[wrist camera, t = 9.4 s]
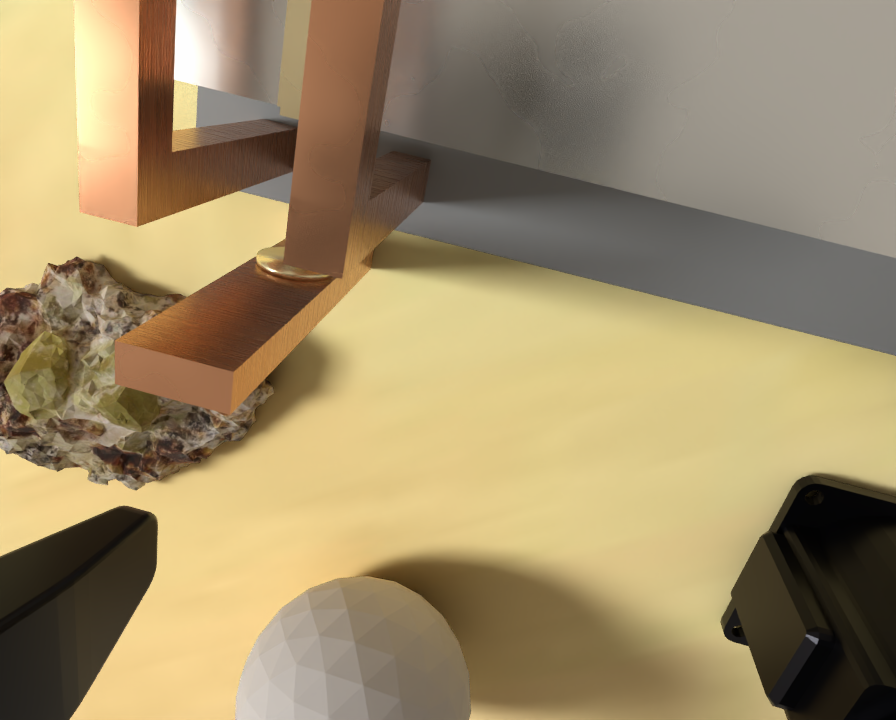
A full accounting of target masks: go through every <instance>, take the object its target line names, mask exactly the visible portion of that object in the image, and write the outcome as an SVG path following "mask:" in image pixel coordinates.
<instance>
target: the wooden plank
mask: <svg viewBox="0 0 896 720" xmlns="http://www.w3.org/2000/svg"><path fill="white" fill-rule="evenodd" d="M285 241H286V239H284V240H283V241H281V242H279V243H278V244H276V245H274V246H273V247H270V248H265V249H262V250H260V251H259V252H258V253H257V256H256V257H254V258H252V259H251V260H249V261H247V262H246V263H244V264H242V265H241V266H239V267H237V268H236V269H234V270H232V271H231V272H229V273H227V274H226V275H224V276H222V277H221V278H219V279H217V280H216V281H214V282H212V283H210V284H209V285H207V286H205V287H204V288H202V289H200V290H199V291H197V292H195V293H194V294H192V295H190V296H189V297H187V298H185V299H184V300H182V301H180V302H179V303H177V304H175V305H174V306H172V307H170V308H168V309H167V310H165V311H163V312H162V313H160V314H158V315H157V316H155V317H153V318H152V319H150V320H148V321H147V322H145V323H143V324H142V325H140V326H138V327H137V328H135V329H133V330H132V331H130V332H128V333H126V334H125V335H123V336H121V337H120V338H118V339H116V340H115V384H117V385H120V386H124V387H128V388H131V389H135V390H139V391H143V392H146V393H150V394H154V395H158V396H161V397H165V398H169V399H173V400H176V401H180V402H184V403H187V404H191V405H195V406H199V407H202V408H206V409H210V410H214V411H217V412H221V413H225V414H229V415H231V414H232V413H233V412H234V410H235V409H236V408H237V407H238V406H239V405H240V404H241V403H242V402H243V401H244V400H245V399H246V398H247V397H248V396H249V395H250V394H251V393H252V392H253V391H254V390H255V389H256V388H257V387H258V386H259V384H260V383H261V382H262V381H263V380H264V379H265V378H266V377H267V376H268V375H269V374H270V373H271V372H272V371H273V370H274V369H275V368H276V367H277V366H278V365H279V364H280V363H281V362H282V361H283V359H284V358H285V357H286V356H287V355H288V354H289V353H290V352H291V351H292V350H293V349H294V348H295V347H296V346H297V345H298V344H299V343H300V342H301V341H302V340H303V339H304V338H305V337H306V336H307V335H308V333H309V332H310V331H311V330H312V329H313V328H314V327H315V326H316V325H317V324H318V323H319V322H320V321H321V320H322V319H323V318H324V317H325V316H326V315H327V314H328V313H329V312H330V311H331V310H332V309H333V307H334V306H335V305H336V304H337V303H338V302H339V301H340V300H341V299H342V298H343V297H344V296H345V295H346V294H347V293H348V292H349V291H350V290H351V289H352V288H353V287H354V286H355V285H356V284H357V282H358V281H359V280H360V279H361V278H362V277H363V276H364V275H365V274H366V273H367V272H368V271H369V270H370V269H371V263H372V257H373V251H374V249H373V250H372V251H371V252H370V253H369V254H368V255H367V256H366V257H365V258H364V259H363V260H362V261H361V262H360V263H359V264H358V265H357V266H356V267H354V268H353V269H352V270H351V271H350V272H349V273H348V274H347V275H346V276H345V277H344V278H343V279H340V278H336V277H332V276H328V275H324V274H320V273H316V272H312V271H309V270H305V269H301V268H297V267H293V266H289V265H285V264H283V259H284V250H285Z"/></svg>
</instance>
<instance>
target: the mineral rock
mask: <svg viewBox="0 0 896 720" xmlns="http://www.w3.org/2000/svg"><path fill="white" fill-rule="evenodd" d="M185 298H187V297H185V296H183V295H181V294H173V295H166V296H165V297H159V296H154V295H150V294H141V293H137V292H134V291H132V290H131V289H130V288H128V287H126V286H124V285H123V284H122V283H117V282H116V281H115V280H114V279H113V278H112V277H111V276H110V274H109V273H108V272H107V270H106V268H105V266H104V265H101V264H96V263H92V262H87V261H84V260H82V259H80V258H79V257H75V258H74V259H72V260H68V261H67V262H66V263H65V264H63V265H58V266H56V265H53V264H50V263H48V265H47V267H46V269H45V271H44V274H43V277H42V281H41V283H40V284H39V285H37V284H35V283H31V284H29V285H26V286H25V288H17V289H13V288H6V289H5V290H3V291H2V292H1V293H0V448H1V449H3V450H4V451H5V452H6V454H11V453H14V454H17V455H19V456H20V457H22V458H24V459H26V460H28V461H30V462H32V463H35V464H36V465H37V466H43V467H46V468H49V469H52V470H56V471H57V472H58V471H60V470H62V469H64V468H72V467H81V468H83V469H86V470H88V472H89V475H88V480H89V481H91V482H94V483H97V484H104V485H108V481H110V480H113V479H117V480H118V481H121V482H122V483H123V484H124V485H125V486H127V487H128V488H131V489H133V490H138V489H139V488H141V487H142V486H144V485H145V483H149V482H152V481H155V480H161V479H163V478H164V477H165V476H167V475H168V474H171V473H176V472H178V471H179V468H180V467H182V466H188V465H189V463H200V461H201V459H202V458H205V459H206V458H207V457H209V456H210V455H211V454H212V452H213V450H214V449H215V448H216V447H217V446H219V445H220V444H222V443H223V442H225V441H240V440H241V439H242V438H243V437H244V435H245V434H246V433H247V432H248V430H249V428H250V427H251V426H252V424H253V423H254V422H256V419H255V415H254V413H255V409H256V408H257V407H258V406H260V405H261V404H264V403H265V401H266V399H267V398H268V397H269V396H270V395H272V394H274V393H275V392H274V390H273V387H272V386H271V384H270V382H269V381H268V380H266V379H264V380H263V381H262V382H261V383H260V384H259V386H258V387H257V388H256V389H255V390H254V391H253V392H252V393H251V394H250V395H249V396H248V397H247V398H246V399H245V400H244V401H243V402H242V403H241V404H240V405H239V406H238V407H237V408H236V409H235V410H234V412H233V413H232V414H231V415H229V414H225V413H221V412H217V411H214V410H210V409H206V408H202V407H199V406H195V405H191V404H187V403H184V402H180V401H176V400H173V399H169V398H165V397H161V396H158V395H154V394H150V393H146V392H143V391H139V390H135V389H131V388H128V387H124V386H120V385H117V384H115V340H116V339H118V338H120V337H121V336H123V335H125V334H126V333H128V332H130V331H132V330H133V329H135V328H137V327H138V326H140V325H142V324H143V323H145V322H147V321H148V320H150V319H152V318H153V317H155V316H157V315H158V314H160V313H162V312H163V311H165V310H167V309H168V308H170V307H172V306H174V305H175V304H177V303H179V302H180V301H182V300H184V299H185Z"/></svg>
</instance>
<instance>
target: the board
mask: <svg viewBox="0 0 896 720" xmlns="http://www.w3.org/2000/svg"><path fill="white" fill-rule="evenodd" d="M258 119H266V120H270V121H274V122H278V123H283V124H287V125H291V126H295V127H298V121H299V120H297V119H293V118H289V117H285V116H281V115H280V107H278V106H277V105H275V104H271V103H267V102H263V101H259V100H255V99H251V98H247V97H243V96H239V95H235V94H231V93H227V92H222V91H218V90H214V89H210V88H206V87H202V86H198V98H197V121H196V128H198V127H206V126H213V125H221V124H228V123H236V122H243V121H251V120H258ZM392 151H397V152H401V153H405V154H409V155H413V156H417V157H422V158H426V159H430V160H431V164H430V170H429V175H428V180H427V185H426V190H425V195H424V200H423V203H422V204H421V205H420V206H419V207H418V208H417V209H416V210H415V211H413V212H412V213H411V214H410V215H409V216H408V217H407V218H406V219H405V220H404V221H403V222H402V223H401V224H400V225H399V226H398V227H397V228H396V229H395V230H397V231H401V232H405V233H409V234H413V235H417V236H421V237H425V238H429V239H433V240H437V241H441V242H445V243H449V244H453V245H456V246H460V247H464V248H468V249H472V250H476V251H480V252H484V253H488V254H492V255H496V256H500V257H504V258H508V259H512V260H516V261H520V262H524V263H528V264H532V265H536V266H540V267H544V268H548V269H552V270H556V271H560V272H564V273H568V274H572V275H576V276H580V277H584V278H588V279H592V280H596V281H600V282H604V283H608V284H612V285H616V286H620V287H624V288H628V289H632V290H636V291H640V292H644V293H648V294H652V295H656V296H660V297H664V298H668V299H672V300H676V301H680V302H684V303H688V304H692V305H696V306H700V307H704V308H708V309H712V310H716V311H720V312H724V313H728V314H732V315H736V316H740V317H744V318H748V319H752V320H756V321H760V322H764V323H768V324H772V325H776V326H780V327H784V328H788V329H792V330H796V331H800V332H804V333H808V334H812V335H816V336H820V337H824V338H828V339H832V340H836V341H840V342H844V343H848V344H852V345H856V346H859V347H863V348H867V349H871V350H875V351H879V352H883V353H887V354H891V355H895V356H896V258H894V257H890V256H886V255H881V254H877V253H873V252H869V251H865V250H861V249H857V248H853V247H849V246H845V245H841V244H837V243H833V242H829V241H825V240H821V239H817V238H813V237H809V236H805V235H801V234H797V233H793V232H788V231H784V230H780V229H776V228H772V227H768V226H764V225H760V224H756V223H752V222H748V221H744V220H740V219H736V218H732V217H728V216H724V215H720V214H716V213H712V212H708V211H704V210H700V209H695V208H691V207H687V206H683V205H679V204H675V203H671V202H667V201H663V200H659V199H655V198H651V197H647V196H643V195H639V194H635V193H631V192H627V191H623V190H619V189H615V188H611V187H607V186H603V185H598V184H594V183H590V182H586V181H582V180H578V179H574V178H570V177H566V176H562V175H558V174H554V173H550V172H546V171H542V170H538V169H534V168H530V167H526V166H522V165H518V164H514V163H510V162H505V161H501V160H497V159H493V158H489V157H485V156H481V155H477V154H473V153H469V152H465V151H461V150H457V149H453V148H449V147H445V146H441V145H437V144H433V143H429V142H425V141H421V140H417V139H412V138H408V137H404V136H400V135H396V134H392V133H388V132H384V131H380V136H379V142H378V148H377V154H376V158H378V157H381V156H383V155H385V154H387V153H390V152H392ZM292 176H293V172H291V173H288V174H285V175H282V176H279V177H277V178H274V179H271V180H268V181H265V182H262V183H260V184H257V185H254V186H251V187H248V188H245V189H243V190H240V191H241V192H245V193H249V194H253V195H257V196H261V197H265V198H269V199H273V200H277V201H281V202H285V203H289V204H290V195H291V185H292Z"/></svg>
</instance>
